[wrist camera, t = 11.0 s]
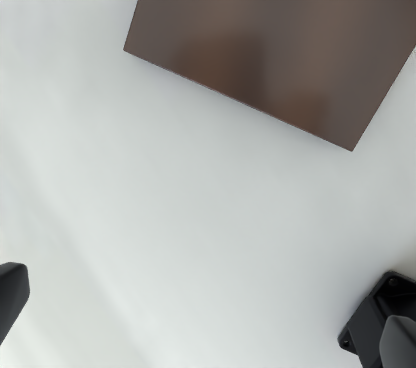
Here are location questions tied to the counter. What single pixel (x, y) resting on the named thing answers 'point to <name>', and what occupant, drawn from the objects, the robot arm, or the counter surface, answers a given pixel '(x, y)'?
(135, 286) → the counter surface
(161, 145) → the counter surface
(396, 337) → the robot arm
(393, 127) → the counter surface
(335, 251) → the counter surface
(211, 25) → the board
